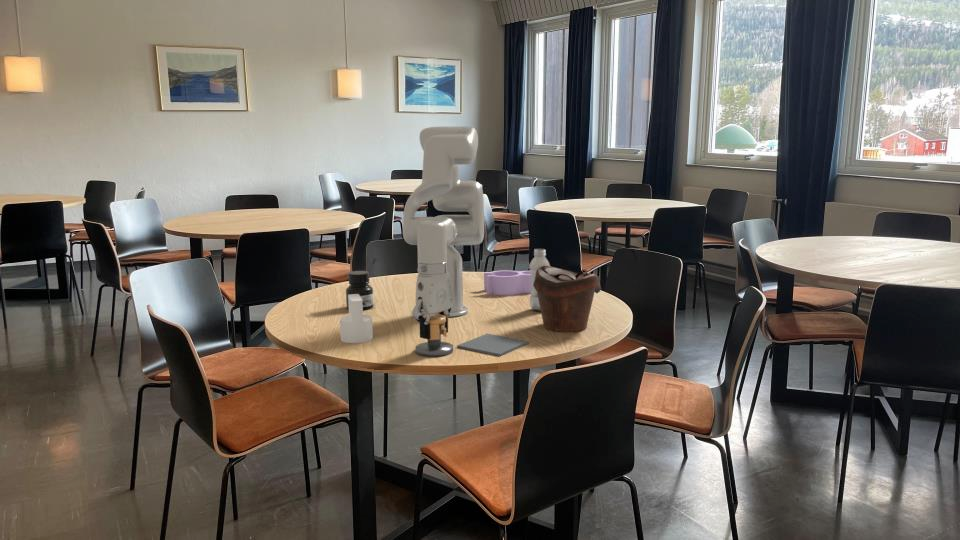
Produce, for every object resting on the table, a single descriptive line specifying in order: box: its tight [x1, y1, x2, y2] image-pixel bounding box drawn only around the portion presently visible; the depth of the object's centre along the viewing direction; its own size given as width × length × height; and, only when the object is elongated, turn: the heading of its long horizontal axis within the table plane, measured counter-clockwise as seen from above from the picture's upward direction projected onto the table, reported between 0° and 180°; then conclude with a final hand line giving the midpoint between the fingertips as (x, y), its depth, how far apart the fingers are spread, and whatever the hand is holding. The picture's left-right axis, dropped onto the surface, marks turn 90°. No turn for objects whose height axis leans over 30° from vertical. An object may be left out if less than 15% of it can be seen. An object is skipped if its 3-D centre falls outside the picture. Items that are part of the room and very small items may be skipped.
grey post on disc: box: [415, 324, 454, 358], centre depth 187 cm, size 10×10×8 cm
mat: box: [456, 333, 530, 357], centre depth 192 cm, size 14×14×1 cm
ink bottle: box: [345, 270, 374, 311], centre depth 236 cm, size 10×9×12 cm
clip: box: [483, 270, 532, 296], centre depth 259 cm, size 20×12×7 cm, turn 97°
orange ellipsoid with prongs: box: [422, 314, 447, 340], centre depth 187 cm, size 6×6×6 cm
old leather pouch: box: [533, 265, 602, 333], centre depth 209 cm, size 18×20×18 cm
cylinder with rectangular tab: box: [339, 294, 374, 344], centre depth 199 cm, size 9×9×12 cm
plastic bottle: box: [529, 248, 551, 312], centre depth 229 cm, size 6×7×20 cm
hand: (434, 334), depth 187 cm, fingers closed on orange ellipsoid with prongs, 6 cm apart
